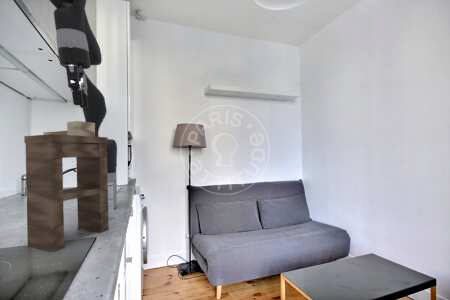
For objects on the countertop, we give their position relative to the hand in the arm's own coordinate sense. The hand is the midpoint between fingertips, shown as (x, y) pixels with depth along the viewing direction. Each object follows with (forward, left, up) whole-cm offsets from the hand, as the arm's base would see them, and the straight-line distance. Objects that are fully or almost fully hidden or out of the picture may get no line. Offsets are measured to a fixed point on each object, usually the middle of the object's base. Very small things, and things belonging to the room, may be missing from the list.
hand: (81, 106), depth 67 cm
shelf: (-7, -4, -41) cm, 41 cm away
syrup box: (-25, +3, -41) cm, 48 cm away
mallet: (-15, -7, -9) cm, 19 cm away
